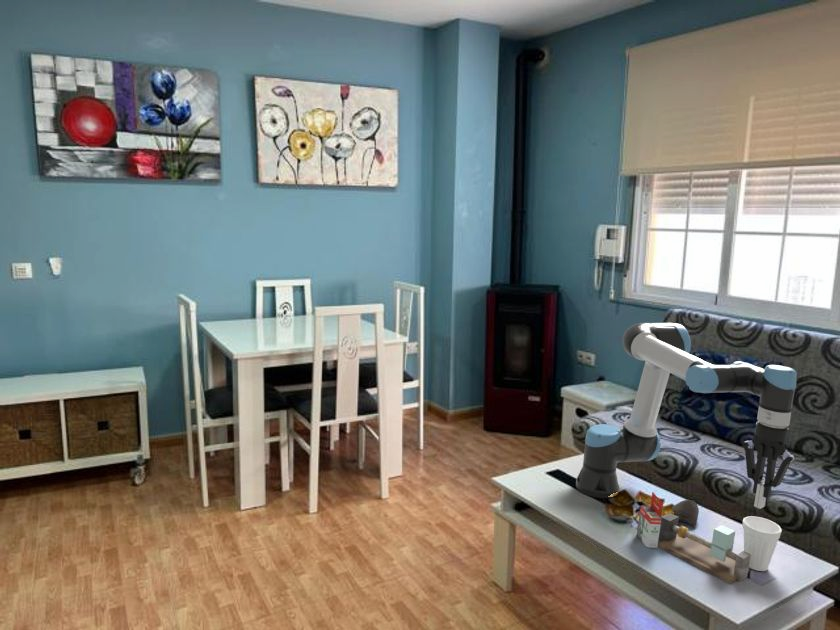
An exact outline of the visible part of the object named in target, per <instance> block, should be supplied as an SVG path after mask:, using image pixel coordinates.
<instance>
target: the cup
mask: <svg viewBox="0 0 840 630" xmlns="http://www.w3.org/2000/svg"><path fill="white" fill-rule="evenodd" d="M742 519H743V520H742V529H743V551H745V552H747V553H749V554H751V556H750V562H749V567H750V569H752V570H754V571H758V572H766V571H768V569H769V566H770V564H771V561H772V557H773V555H774V553H775V550H776V547H777V545H778V541H779V540H780V538H781V535H782V531H783V529H782V528H781V526H780V525H779V524H778V523H776V522H774V521H772V520H770V519H768V518H764V517H760V516H753V515H750V516H746V517H743V518H742Z"/></svg>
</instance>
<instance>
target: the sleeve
mask: <svg viewBox="0 0 840 630" xmlns="http://www.w3.org/2000/svg"><path fill="white" fill-rule="evenodd" d="M735 535H736V530H734V529H732V528H730V527H728V526H725V525H723V524H720V525H718V526H717V527H715V528H713V531H712V539H711V542H712V545H711V552H710V556H712V557H714V558H716V559H718V560H720V561H722V562H725V559H726V557H727V556H726V552H727V550H729V551H731V552H733V550H734V542H735V538H736V537H735ZM728 558H729V557H728Z"/></svg>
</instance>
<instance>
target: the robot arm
mask: <svg viewBox="0 0 840 630" xmlns="http://www.w3.org/2000/svg"><path fill="white" fill-rule="evenodd" d="M622 347H623V349H624V351H625V352H626V353H627V354H628V355H629V356H630V357H632V358H634V359H636V360H638V361H644V365H643V370H642V373H641V376H640V381H639V385H638V387H637V392H636V395H635V398H634V403H633V407H632V409H631V414H630V416H629V418H628V419H626V420H624V422H623V427H622V429H620V428H619V427H618V426H616V425H612V424H606V423H603V424H602V423H600V424H594V425H592V426H590V427H589V428H588V429H587V430H586V435H585V439H584V442H585V443H584V450H583V451H584V452H583V461H582V466H581V470H580V471H579V473H578V476H577V477H576V479H575V480H576V481H575V487H576V489H577V490H578V491H579V492H581V493H582V494H584V495H586V496H590V497H593V498H597V499H608V498H607V497H608V496H610V495H611V494H613V493H616V492H618V491H620V485H619V480H618V476H617V467H618V466H617V465H618V463H632V462H639V463H644V462H648V461H651V460H654V459H655V458H656V457H658V455H659V453H660V451H661V447H662V445H661V442H660V441H661V437H660V435H659V433H658V429H657V428H656V427H655V425H656V421H657V419H658V415H659V411H660V408H661V406H662V401H663V398H664V394H665V392H666V388H667V384H668V381H669V377H670V374H671V375H673V376H675V377H677V378H679V379H681V380H683V381H685V383H686V386H687V387H688V388H689V391H692V392H694V393H701V394H711V393H712V394H714V393H749V394H752V395H755V396H756V397H759V401H758V402H759V403H758V411H757V417H756V420H757V421H756V423H755V428H754V436H753V437H752V438H751V440H746V441H742V443H741V445H742V448H743V450H744V455H745V463H746V464H745V465H746V475H747V478H748V479H751V480H752V481H753V488H752V494H755V497H754V498H755V499H754V504H753V507H755V508H756V509H763V508H764V507H766V502H767V499H768V498H770V496H771V493H772V488H776V487H778V486H780V485H781V483H782V481H784V478H785V475H786V473H787V471H788V469H789V467H790V466H791V465H790V464H791V463H792V462H793V461H794V460H796V455H795V454H791V453H790V452H789V451H788V446H787V441H788V440H787V439H788V436H789V435H788V434H789V426H790V423H791V417H792V408H793V402H794V398H795V392H796V388H797V379H798V377H797V376H798V375H797V374H798V372H797V371H796V370H795V369H794V368H791V367H789V366H785V365H784V366H783V365H780V364H778V365H777V364H769V365H766V366H765V367H764V368H762V367H759V366H756V365H754V364H752V363H750V362H744V361H739V360H738V361H734V362H733V363H730V364H712V363H711V362H708V361H705V360H703V359H701V358H699V357H697V356H695V355H693V354H690V352H691V347H692V339H691V336H690V334H689V331H688V330H687V328H686V327H685V326H684V325H683V324H680V323H675V322H674V323H673V322H670V321H669V322H639V323H634V324H633V325H631V326H629V327H628V328H627V329H626V330H625V331H624V333H623V336H622ZM754 448H755V450H754ZM755 451H756V453H757V454H756V457H755ZM781 456H782V461H781V463H780V465H779V468H778V470H777V472H776V465H777V461H778V458H780V457H781ZM755 458H756V459H755ZM755 461H756V462H755ZM766 462H767V463H766ZM765 467H766V471H765ZM764 471H765V477H764ZM775 473H776V474H775Z"/></svg>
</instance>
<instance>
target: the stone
mask: <svg viewBox="0 0 840 630" xmlns="http://www.w3.org/2000/svg"><path fill="white" fill-rule="evenodd" d="M671 508H672V510H673V512H674V515H676V516H678V517H679V520H678V522H679V521H681V522H684V523H687V524H689V525H690V526H691V527H693V528H695V527H697V526H698V523H697V522H698V519H699V518H698V517H699V511H700V510H699V509H700V508H699V506H698V504H697V503H696V501H694V500H691V499H686V500H685V499H684V500H682V501H679V502H678V503H676V504H674V505H673V506H672V507H671Z"/></svg>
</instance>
